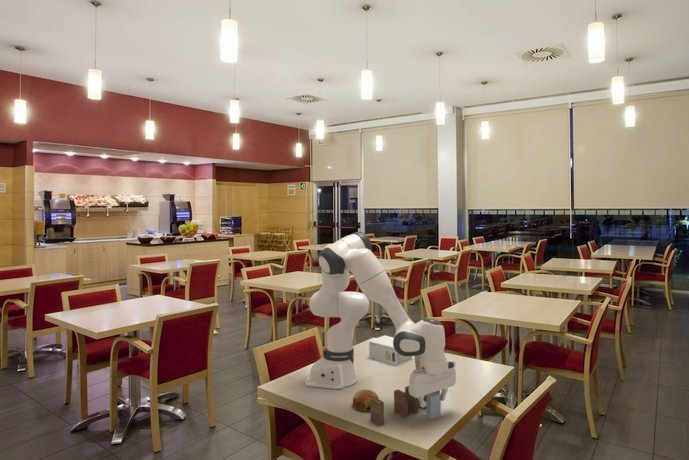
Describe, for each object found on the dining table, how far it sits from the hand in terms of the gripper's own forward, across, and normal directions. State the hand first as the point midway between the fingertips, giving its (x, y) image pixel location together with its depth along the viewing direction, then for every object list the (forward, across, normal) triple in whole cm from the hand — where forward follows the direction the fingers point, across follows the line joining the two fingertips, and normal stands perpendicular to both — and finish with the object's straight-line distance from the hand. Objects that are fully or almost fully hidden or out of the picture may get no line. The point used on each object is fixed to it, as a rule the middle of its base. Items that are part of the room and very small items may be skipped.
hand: (432, 403), depth 159 cm
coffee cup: (+5, +20, +25) cm, 33 cm away
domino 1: (+5, -18, +9) cm, 21 cm away
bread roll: (+5, -14, +21) cm, 26 cm away
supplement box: (+5, +28, +56) cm, 63 cm away
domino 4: (+5, +4, +9) cm, 11 cm away
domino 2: (+5, -7, +9) cm, 13 cm away
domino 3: (+5, -2, +9) cm, 10 cm away
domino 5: (+5, +1, 0) cm, 5 cm away
